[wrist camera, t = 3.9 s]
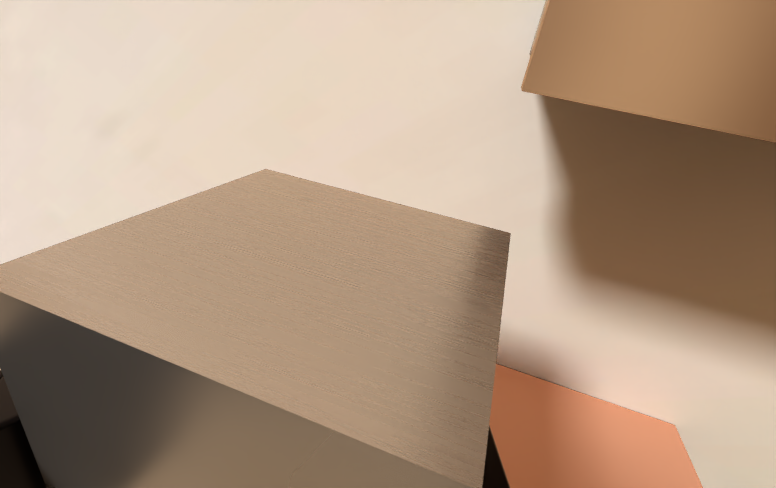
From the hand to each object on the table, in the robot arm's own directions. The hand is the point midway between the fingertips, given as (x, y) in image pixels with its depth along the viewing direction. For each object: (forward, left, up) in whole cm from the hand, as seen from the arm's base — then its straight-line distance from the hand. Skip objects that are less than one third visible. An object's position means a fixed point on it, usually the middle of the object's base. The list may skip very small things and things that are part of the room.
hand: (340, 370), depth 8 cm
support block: (0, 0, -1) cm, 1 cm away
